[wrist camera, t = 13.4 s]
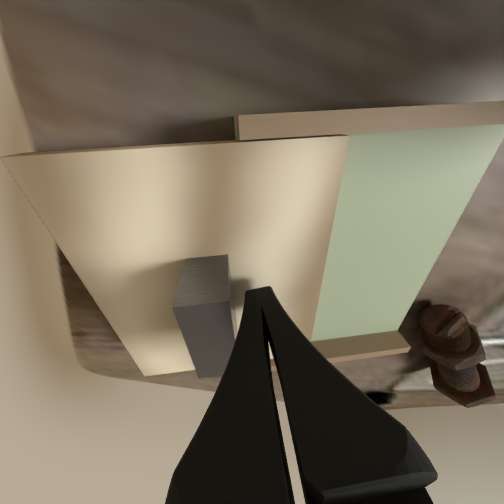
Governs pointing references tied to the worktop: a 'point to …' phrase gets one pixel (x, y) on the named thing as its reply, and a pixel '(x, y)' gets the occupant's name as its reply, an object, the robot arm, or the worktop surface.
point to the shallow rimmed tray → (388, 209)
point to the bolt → (455, 355)
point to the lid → (190, 235)
